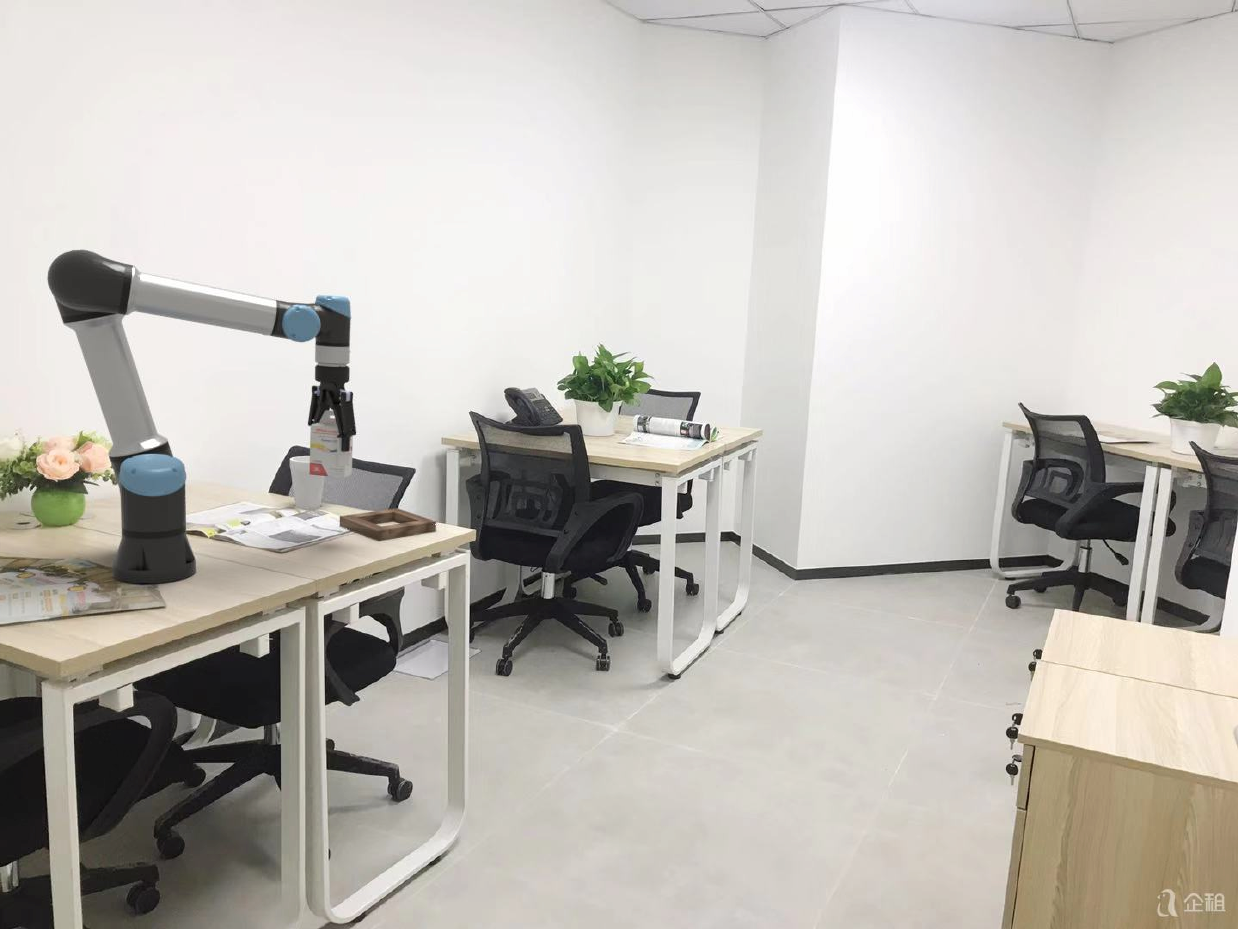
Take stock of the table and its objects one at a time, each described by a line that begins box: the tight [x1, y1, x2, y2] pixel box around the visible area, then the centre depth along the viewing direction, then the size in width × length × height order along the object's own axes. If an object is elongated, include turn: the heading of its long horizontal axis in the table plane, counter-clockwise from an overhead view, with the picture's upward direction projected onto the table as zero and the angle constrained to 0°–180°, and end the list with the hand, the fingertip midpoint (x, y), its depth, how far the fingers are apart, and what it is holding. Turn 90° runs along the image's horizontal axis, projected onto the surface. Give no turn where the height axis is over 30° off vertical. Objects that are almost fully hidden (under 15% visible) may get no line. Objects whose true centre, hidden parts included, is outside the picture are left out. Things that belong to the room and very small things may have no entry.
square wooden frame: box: [339, 507, 437, 542], centre depth 236 cm, size 17×17×2 cm
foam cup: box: [289, 455, 326, 510], centre depth 252 cm, size 10×9×13 cm
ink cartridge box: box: [309, 410, 354, 479], centre depth 216 cm, size 9×5×15 cm, turn 84°
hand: (331, 461), depth 217 cm, fingers closed on ink cartridge box, 9 cm apart
